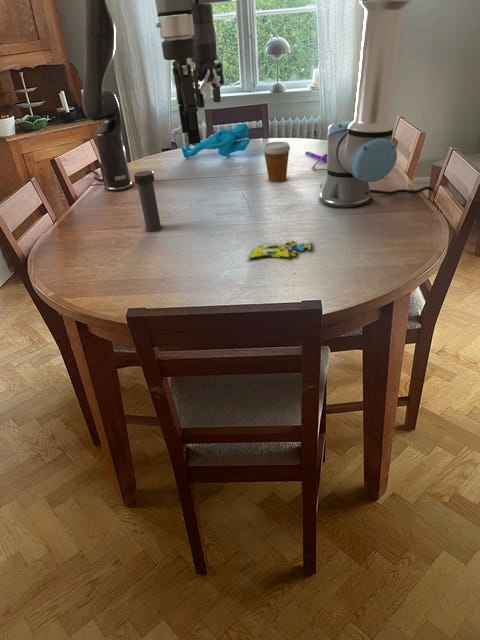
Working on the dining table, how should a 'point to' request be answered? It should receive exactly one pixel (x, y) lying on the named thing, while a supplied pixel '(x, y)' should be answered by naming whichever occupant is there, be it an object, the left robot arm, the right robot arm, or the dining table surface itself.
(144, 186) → the jar
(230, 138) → the toy
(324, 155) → the musical instrument
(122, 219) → the dining table surface
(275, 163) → the disposable coffee cup
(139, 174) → the lid
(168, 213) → the dining table surface
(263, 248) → the toy
